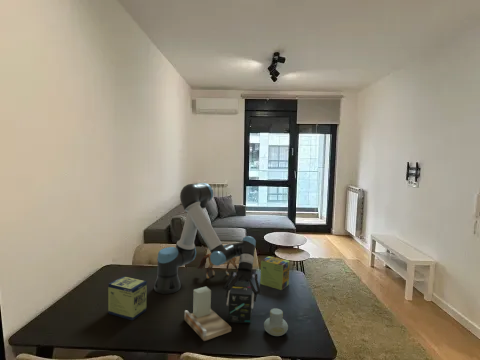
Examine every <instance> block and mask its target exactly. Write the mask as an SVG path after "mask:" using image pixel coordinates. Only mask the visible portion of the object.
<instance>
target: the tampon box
mask: <svg viewBox="0 0 480 360" xmlns="http://www.w3.org/2000/svg"><path fill="white" fill-rule="evenodd" d="M252 294H253V291H252V288H251V287H250V286H246V285H245V286H244V285H235V286H232V287H231V289H230V292H229V306H228V322H227V323H237V324H251V320H252V315H253V309H251V303H252Z"/></svg>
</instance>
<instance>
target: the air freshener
mask: <svg viewBox="0 0 480 360" xmlns="http://www.w3.org/2000/svg"><path fill="white" fill-rule="evenodd" d="M283 317H284V312H283V310H282V309H280V308H276V307H275V308H271V309H270V310H269V317H267V318H266V319H265V321H264V322H263V327H264V330H265V332H266V333H267V334H268V335H271V336H273V337H280V336H283V335H285V334H286V333H287V331H288V329H289V325H288V323H287V321H286V320H285V319H284V318H283Z"/></svg>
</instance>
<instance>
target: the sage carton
mask: <svg viewBox="0 0 480 360" xmlns="http://www.w3.org/2000/svg"><path fill="white" fill-rule="evenodd" d="M192 295H193V296H192V297H193V300H192V306H193V307H192V310H193V311H192V313H193V314H194V315H195V316H196V317H197V318H199V317H202V316H205V315H208V314H210V311H211V310H212V308H211V305H212V304H211V302H212V299H211V298H212V290H211V289H210V288H209V287H208V286H203V287H198V288H194V289H193V294H192Z"/></svg>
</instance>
